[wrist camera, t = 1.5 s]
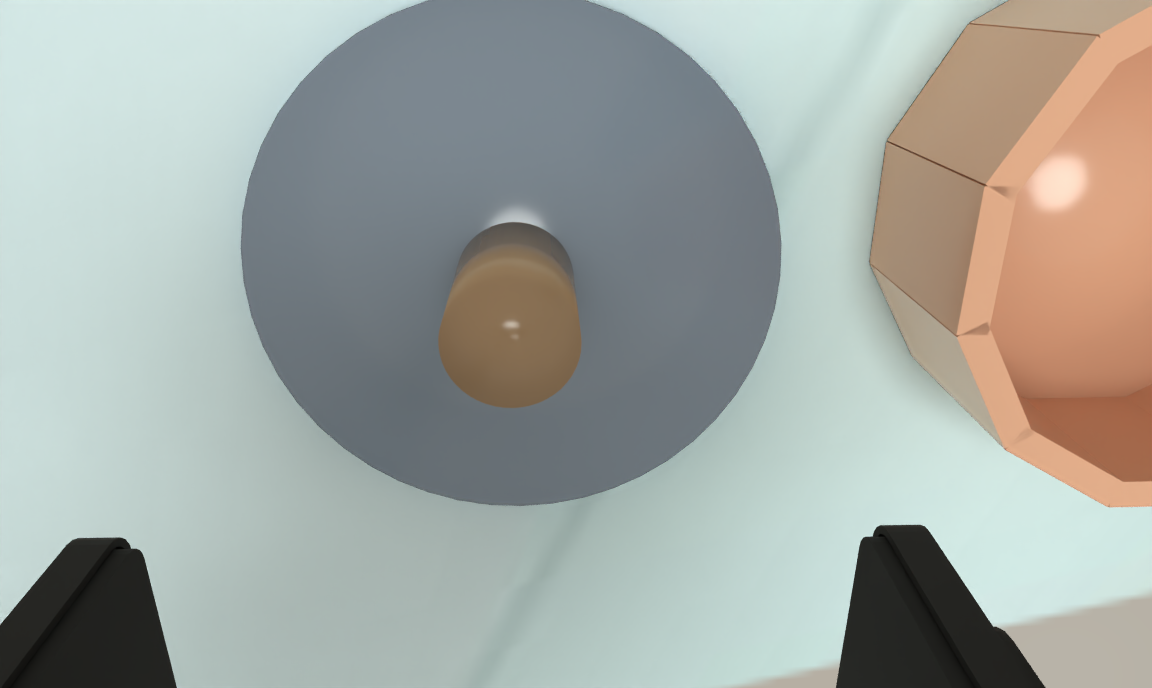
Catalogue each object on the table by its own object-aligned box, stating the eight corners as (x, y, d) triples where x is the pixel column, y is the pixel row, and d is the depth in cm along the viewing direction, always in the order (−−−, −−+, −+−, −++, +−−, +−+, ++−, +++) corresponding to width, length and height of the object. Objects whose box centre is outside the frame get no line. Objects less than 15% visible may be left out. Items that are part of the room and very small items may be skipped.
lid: (749, 481, 30) (799, 598, 24) (290, 491, 29) (230, 613, 24) (795, -11, 24) (877, -9, 18) (213, -12, 23) (107, -9, 17)
